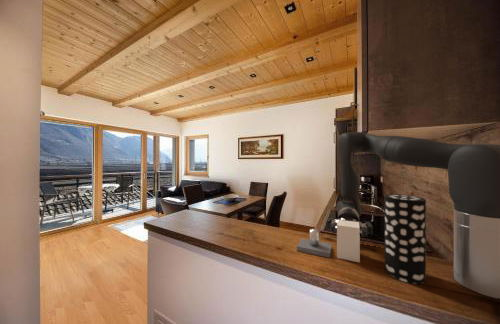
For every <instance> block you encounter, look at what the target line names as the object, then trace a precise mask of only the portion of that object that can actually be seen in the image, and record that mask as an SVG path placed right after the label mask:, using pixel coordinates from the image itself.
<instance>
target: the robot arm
mask: <svg viewBox="0 0 500 324" xmlns="http://www.w3.org/2000/svg"><path fill="white" fill-rule="evenodd" d="M337 144H338V145H337V146H338V147H337V148H338V157H339V164H340V171H341V173H340V174H341V186H340V188H341V189H340V190H341V192H340V193H341V196H342V197H343V198H346V199H349V200H351V201H349V200H348V201H347V200H339V201H338V202H337V204H336V213H337V218H336V219H333V217H331V216H329V217H327V218H326V223H325V225H326V226H325V227H326V228H327V229H330V231H331V232H332V234H333V233H334V234H336V231H337V222H338V220H345V221H353V222H359V227H360V234H361V238H364V239H365V237H368V234H369V235H371V236H372V235H373V225H372V222H370V221H366V222H364V223H362V222H361V221H360V217H361V215H362V207H361V204H360V198H359V186H360V185H359V182H360V181H359V177H358V174H357V172H356V170H355V169H354V166H353V164H352V154H359V153H368V154H375V155H377V156H378V157H379V158H380V159H382V160H384V161H387V162H389V163H395V164H397V165H398V164H399V165H403V166H410V167H420V168H421V167H422V168H430V169H431V168H434V169H442V170H443V169H444V170H447V177H448V192H449V198H450V200H451V201H452V202H453V278H454V280H455V281H456V282H457V283H458V284H460V285H462V286H463V287H465V288H466V289H469V290H471V291H473V292H476V293H478V294H480V295H483V296H486V297H490V298H493V299H498V298H499V300H500V144H497V143H496V144H492V143H491V144H490V143H488V144H487V143H486V144H485V143H484V144H483V143H474V144H472V143H471V144H463V143H462V144H461V143H459V144H458V143H457V144H456V143H448V142H443V141H436V140H431V139H425V138H419V137H418V138H417V137H413V136H411V137H410V136H403V135H402V136H400V135H377V134H372V133H371V134H370V133H366V132H362V131H353V132H344V133H342V134H340V136H339V138H338V143H337Z"/></svg>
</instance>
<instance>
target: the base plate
mask: <svg viewBox="0 0 500 324" xmlns="http://www.w3.org/2000/svg"><path fill="white" fill-rule="evenodd" d="M296 251H297V252H301V253H305V254H309V255H314V256H320V257H324V258H328V259H330V257H331V252H332V243H329V242H323V241H320V230H319V229H318V228H309V239H308V238H307V239H306V238H301V239H300V240H299V242H298V243H297V245H296Z"/></svg>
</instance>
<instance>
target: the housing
mask: <svg viewBox="0 0 500 324" xmlns="http://www.w3.org/2000/svg"><path fill="white" fill-rule="evenodd" d="M360 234H361V233H360V227H359V222H353V221H345V220H338V222H337V229H336V259H340V260H346V261H349V262H350V261H351V262H356V263H361V256H360V255H361V252H360V251H361V250H360V249H361V247H360V246H361V243H360V242H361V240H360V239H361V236H360Z"/></svg>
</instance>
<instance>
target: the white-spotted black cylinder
mask: <svg viewBox="0 0 500 324" xmlns="http://www.w3.org/2000/svg"><path fill="white" fill-rule="evenodd" d="M426 209H427V199H426V198H424V197H420V196H415V195H408V194H385V195H384V271H385V272H386V273H387V274H388V275H390V276H391V277H393V278H395V279H396V280H398V281H400V282H401V281H402V282H404V283H409V284H414V285H421V284H424V283H425V282H426V279H427V277H426V276H427V273H426V272H427V266H426V265H427V256H426V254H427V251H426V250H427V243H426V242H427V238H426V237H427V230H426V229H427V223H426V222H427V210H426Z"/></svg>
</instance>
